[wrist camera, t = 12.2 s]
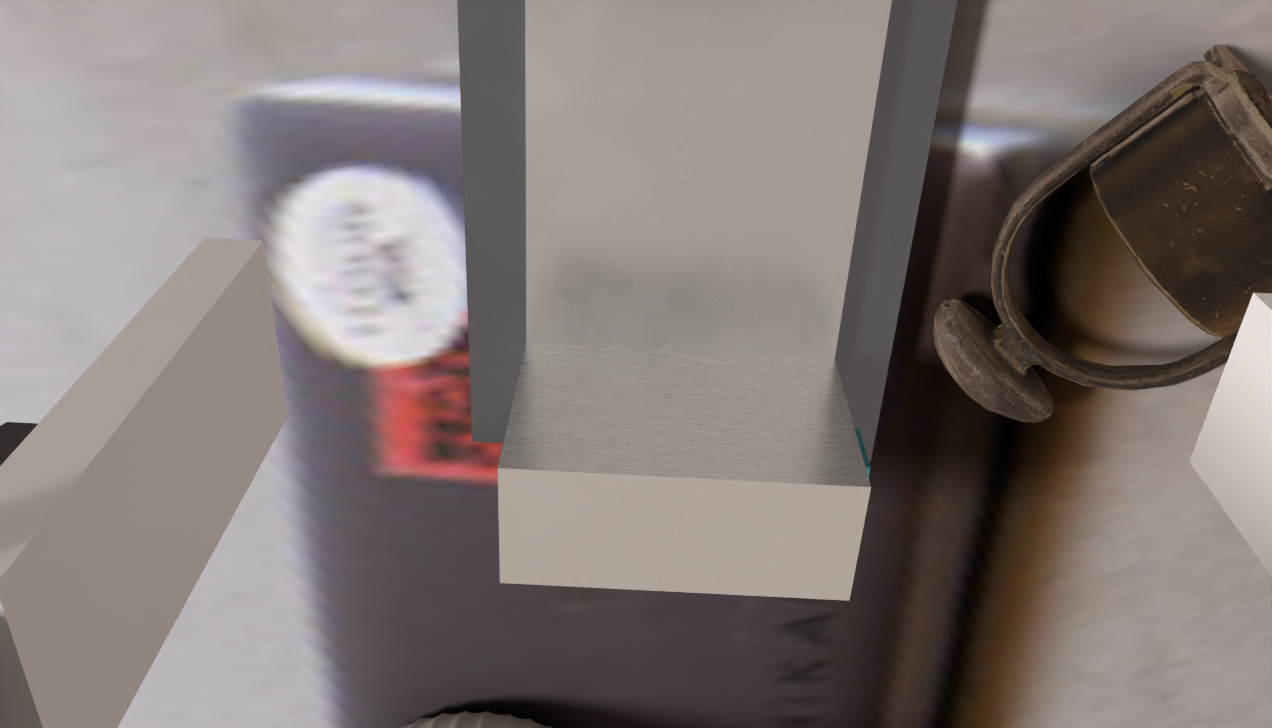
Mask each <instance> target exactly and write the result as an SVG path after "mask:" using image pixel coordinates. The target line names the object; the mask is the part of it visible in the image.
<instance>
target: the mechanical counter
mask: <svg viewBox="0 0 1272 728" xmlns="http://www.w3.org/2000/svg"><path fill="white" fill-rule="evenodd" d="M1204 57H1205V60H1206V61H1199V62H1192V63H1190V64H1189V65H1187V66H1185V67H1183V68H1181V69H1179V70H1178V71H1176V72H1175V73H1174V74H1172V75H1171V76H1170V77H1168V78H1167V79H1165V80H1164V81H1163V82H1161V83H1160V84H1159V85H1157V86H1156V87H1155V88H1153V89H1152V90H1151V91H1149V92H1148V93H1147V94H1145V95H1144V96H1143V97H1141V98H1140V99H1139V100H1137V101H1136V102H1135V103H1133V104H1132V105H1131V106H1129V107H1128V108H1127V109H1125V110H1124V111H1123V112H1121V113H1120V114H1119V115H1117V116H1116V117H1115V118H1113V119H1112V120H1111V121H1109V122H1108V123H1107V124H1105V125H1104V126H1103V127H1101V128H1100V129H1099V130H1097V131H1096V132H1095V133H1093V134H1092V135H1091V136H1089V137H1088V138H1087V139H1085V140H1084V141H1083V142H1082V143H1080V144H1079V145H1078V146H1076V147H1075V148H1074V149H1072V150H1071V151H1070V152H1068V153H1067V154H1066V155H1065V156H1063V157H1062V158H1061V159H1060V160H1058V161H1057V162H1056V163H1055V164H1053V165H1052V166H1051V167H1049V168H1048V169H1047V170H1046V171H1045V172H1043V173H1042V174H1041V175H1040V176H1039V177H1037V178H1036V179H1035V180H1034V181H1033V182H1032V183H1031V184H1030V185H1029V186H1028V188H1027V189H1026V190H1025V191H1024V192H1023V193H1022V194H1021V195H1020V196H1019V197H1018V198H1017V199H1016V200H1015V201H1014V203H1013V205H1012V206H1011V208H1010V210H1009V212H1008V214H1007V215H1006V217H1005V220H1004V222H1003V225H1002V227H1001V230H1000V233H999V235H998V238H997V241H996V243H995V246H994V249H993V254H992V277H991V287H992V294H993V302H994V305H995V308H996V310H997V312H998V314H999V317H1000V319H1001V321H1002V323H1003V324H1001V325H999V326H995V325H994V324H993V323H992V322H991V321H989V320H988V319H987V318H986V317H985V316H983V315H982V314H981V313H980V312H979V311H977V310H976V309H974V308H973V307H971V306H970V305H968V304H967V303H965V302H964V301H962V300H959V299H956V298H954V297H953V298H950V299H947V300H944V301H943V302H942V304H941V305H940V306H939V308H938V309H937V310H936V311H935V313H934V340H935V345H936V349H937V352H938V354H939V356H940V358H941V360H942V362H943V364H944V366H945V368H946V369H947V371H948V372H949V373H950V375H951V376H952V377H953V378H954V380H955V381H956V382H957V384H958V385H959V386H960V387H961V388H962V389H963V390H964V391H965V393H966V394H967V395H968V396H969V397H971V398H972V399H973V400H975V401H976V402H977V403H979V404H980V405H981V406H983V407H984V408H986V409H987V410H989V411H992V412H995V413H998V414H1000V415H1003V416H1006V417H1009V418H1012V419H1015V420H1018V421H1021V422H1036V423H1037V422H1040V421H1043V420H1045V419H1047V418H1048V417H1049V416H1051V414H1052V411H1053V403H1054V402H1053V399H1052V397H1051V395H1050V394H1049V392H1048V390H1047V388H1046V387H1045V385H1044V383H1043V382H1042V380H1041V379H1040V377H1039V376H1038V375H1037V373H1036V372H1035V370H1034V369H1033V368H1032V366H1031V365H1040V366H1041V367H1043V368H1045V369H1046V370H1048V371H1050V372H1052V373H1053V374H1056V375H1058V376H1061V377H1063V378H1066V379H1068V380H1071V381H1074V382H1076V383H1079V384H1081V385H1084V386H1091V387H1099V388H1107V389H1115V390H1139V389H1148V388H1157V387H1165V386H1173V385H1176V384H1179V383H1182V382H1185V381H1188V380H1191V379H1194V378H1197V377H1200V376H1202V375H1204V374H1206V373H1208V372H1210V371H1212V370H1214V369H1216V368H1218V367H1220V366H1222V365H1224V364H1226V363H1227V361H1228V358H1229V356H1230V353H1231V350H1232V348H1233V345H1234V342H1235V340H1236V337H1237V334H1238V332H1239V329H1240V326H1241V324H1242V321H1243V319H1244V316H1245V313H1246V311H1247V308H1248V305H1249V303H1250V300H1251V297H1252V295H1253V293H1270V294H1272V95H1271V94H1270V93H1269V92H1268V91H1267V90H1266V89H1265V88H1264V87H1263V85H1262V84H1261V83H1260V82H1259V81H1258V80H1257V79H1256V77H1255V76H1254V75H1253V74H1251V73H1250V72H1249V71H1248V70H1247V68H1246V67H1245V66H1244V65H1243V64H1242V63H1241V62H1240V61H1239V60H1238V59H1237V58H1236V56H1235V55H1234V54H1233V53H1232V52H1231V51H1230V50H1229V49H1228V48H1227V47H1226V46H1222V45H1214V46H1213V47H1211V48H1210V49H1209V50H1208V51H1207V52H1206V53H1205V54H1204ZM1088 164H1089V165H1090V175H1089V176H1090V178H1091V180H1092V182H1093V186H1094V192H1095V194H1096V197H1097V199H1098V201H1099V203H1100V205H1101V207H1102V209H1103V210H1104V212H1105V214H1106V216H1107V217H1108V219H1109V221H1110V222H1111V224H1112V225H1113V227H1114V229H1115V230H1116V232H1117V234H1118V235H1119V237H1120V238H1121V240H1122V241H1123V243H1124V244H1125V246H1126V248H1127V249H1128V251H1129V252H1130V254H1131V255H1132V257H1133V258H1134V260H1135V261H1136V263H1137V265H1138V266H1139V267H1140V268H1141V270H1142V271H1143V272H1144V273H1145V275H1146V276H1147V277H1148V278H1149V280H1150V281H1151V282H1152V283H1153V284H1154V285H1155V286H1156V287H1157V288H1158V289H1159V290H1160V291H1161V292H1162V293H1163V294H1164V295H1165V296H1166V297H1167V298H1168V299H1169V300H1170V301H1171V302H1172V304H1173V305H1174V306H1175V307H1176V308H1177V309H1178V310H1179V311H1180V312H1181V313H1182V314H1183V315H1184V316H1185V317H1186V318H1187V319H1188V320H1189V321H1190V322H1191V323H1193V324H1194V325H1196V326H1197V327H1199V328H1200V329H1202V330H1203V331H1205V332H1206V333H1208V334H1210V335H1213V336H1217V337H1224V338H1222V339H1221V340H1219V341H1217V342H1215V343H1214V344H1212V345H1210V346H1209V347H1207V348H1205V349H1203V350H1201V351H1199V352H1197V353H1195V354H1192V355H1190V356H1188V357H1186V358H1183V359H1181V360H1179V361H1176V362H1172V363H1167V364H1163V365H1133V366H1109V365H1104V364H1099V363H1094V362H1090V361H1087V360H1083V359H1080V358H1077V357H1073V356H1070V355H1068V354H1067V353H1065V352H1063V351H1062V350H1060V349H1059V348H1057V347H1055V346H1054V345H1052V344H1050V343H1049V342H1047V341H1046V340H1045V339H1044V338H1043V337H1042V336H1041V335H1040V334H1039V333H1038V332H1037V331H1036V330H1035V329H1034V328H1033V327H1032V326H1031V325H1030V323H1029V322H1028V321H1027V319H1026V318H1025V317H1024V315H1023V314H1022V312H1021V311H1020V310H1019V308H1018V306H1017V304H1016V302H1015V300H1014V297H1013V295H1012V293H1011V290H1010V284H1009V278H1008V260H1009V255H1010V251H1011V248H1012V246H1013V243H1014V241H1015V238H1016V235H1017V233H1018V230H1019V228H1020V225H1021V223H1022V222H1023V221H1024V219H1025V218H1026V217H1027V216H1028V214H1029V213H1030V212H1031V211H1032V209H1033V208H1034V207H1035V206H1036V205H1037V204H1038V203H1039V202H1041V201H1042V200H1043V199H1044V198H1045V197H1046V196H1047V195H1049V194H1050V193H1051V192H1052V191H1054V190H1055V189H1056V188H1058V187H1059V186H1060V185H1062V184H1063V183H1064V182H1066V181H1067V180H1068V179H1070V178H1071V177H1072V176H1074V175H1075V174H1076V173H1077V172H1079V171H1080V170H1081V169H1083V168H1084V167H1085V166H1087V165H1088Z"/></svg>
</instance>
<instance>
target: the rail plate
mask: <svg viewBox="0 0 1272 728" xmlns="http://www.w3.org/2000/svg"><path fill="white" fill-rule="evenodd" d="M457 1H458V31H459V61H460V90H461V120H462V150H463V180H464V210H465V240H466V270H467V300H468V330H469V360H470V389H471V419H472V441H474V442H494V443H503V448H502V452H501V456H500V461H499V465H498V504H499V555H500V583H513V584H532V585H552V586H572V587H592V588H612V589H631V590H651V591H671V592H691V593H710V594H730V595H750V596H770V597H790V598H809V599H829V600H849V599H850V594H851V589H852V584H853V579H854V573H855V568H856V563H857V558H858V553H859V547H860V542H861V537H862V532H863V527H864V521H865V516H866V511H867V506H868V501H869V495H870V490H871V485H870V482H869V473H870V464H869V462H871V457H872V452H873V446H874V441H875V436H876V431H877V425H878V420H879V415H880V409H881V404H882V399H883V394H884V388H885V383H886V378H887V372H888V367H889V362H890V356H891V351H892V346H893V341H894V335H895V330H896V325H897V319H898V314H899V309H900V304H901V298H902V293H903V288H904V282H905V277H906V272H907V267H908V261H909V256H910V251H911V245H912V240H913V235H914V230H915V224H916V219H917V214H918V208H919V203H920V198H921V192H922V187H923V182H924V177H925V171H926V166H927V161H928V155H929V150H930V145H931V140H932V134H933V129H934V124H935V118H936V113H937V108H938V103H939V97H940V92H941V87H942V81H943V76H944V71H945V65H946V60H947V55H948V50H949V44H950V39H951V34H952V28H953V23H954V18H955V13H956V7H957V2H958V0H457Z"/></svg>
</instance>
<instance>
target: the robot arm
mask: <svg viewBox="0 0 1272 728" xmlns="http://www.w3.org/2000/svg"><path fill="white" fill-rule="evenodd" d="M286 417H287V409H286V402H285V394H284V387H283V380H282V373H281V366H280V359H279V352H278V344H277V337H276V330H275V323H274V316H273V309H272V302H271V294H270V287H269V280H268V273H267V266H266V259H265V251H264V244H263V241H253V240H234V239H214V238H204V240H203V241H202V242H201V243H200V244H199V245H198V246H197V247H196V249H195V250H194V251H193V252H192V253H191V254H190V255H189V256H188V257H187V259H186V260H185V261H184V262H183V263H182V264H181V265H180V266H179V267H178V269H177V270H176V271H175V272H174V273H173V274H172V275H171V276H170V278H169V279H168V280H167V281H166V282H165V283H164V284H163V285H162V286H161V288H160V289H159V290H158V291H157V292H156V293H155V294H154V295H153V296H152V298H151V299H150V300H149V301H148V302H147V303H146V304H145V305H144V307H143V308H142V309H141V310H140V311H139V312H138V313H137V314H136V315H135V317H134V318H133V319H132V320H131V321H130V322H129V323H128V324H127V325H126V327H125V328H124V329H123V330H122V331H121V332H120V333H119V334H118V336H117V337H116V338H115V339H114V340H113V341H112V342H111V343H110V344H109V346H108V347H107V348H106V349H105V350H104V351H103V352H102V353H101V354H100V356H99V357H98V358H97V359H96V360H95V361H94V362H93V363H92V364H91V366H90V367H89V368H88V369H87V370H86V371H85V372H84V373H83V375H82V376H81V377H80V378H79V379H78V380H77V381H76V382H75V383H74V385H73V386H72V387H71V388H70V389H69V390H68V391H67V392H66V393H65V395H64V396H63V397H62V398H61V399H60V400H59V401H58V402H57V404H56V405H55V406H54V407H53V408H52V409H51V410H50V411H49V412H48V414H47V415H46V416H45V417H44V418H43V419H42V420H41V421H40V422H39V424H33V423H14V422H6V423H5V424H3V425H1V426H0V728H117V727H118V725H119V724H120V722H121V720H122V718H123V716H124V714H125V713H126V711H127V709H128V707H129V705H130V703H131V702H132V700H133V698H134V696H135V694H136V692H137V691H138V689H139V687H140V685H141V683H142V681H143V680H144V678H145V676H146V674H147V672H148V670H149V669H150V667H151V665H152V663H153V661H154V659H155V658H156V656H157V654H158V652H159V650H160V648H161V647H162V645H163V643H164V641H165V639H166V637H167V636H168V634H169V632H170V630H171V628H172V626H173V625H174V623H175V621H176V619H177V617H178V615H179V614H180V612H181V610H182V608H183V606H184V604H185V603H186V601H187V599H188V597H189V595H190V593H191V592H192V590H193V588H194V586H195V584H196V582H197V581H198V579H199V577H200V575H201V573H202V571H203V570H204V568H205V566H206V564H207V562H208V560H209V559H210V557H211V555H212V553H213V551H214V549H215V548H216V546H217V544H218V542H219V540H220V538H221V537H222V535H223V533H224V531H225V529H226V527H227V526H228V524H229V522H230V520H231V518H232V516H233V515H234V513H235V511H236V509H237V507H238V505H239V504H240V502H241V500H242V498H243V496H244V494H245V493H246V491H247V489H248V487H249V485H250V483H251V482H252V480H253V478H254V476H255V474H256V472H257V471H258V469H259V467H260V465H261V463H262V461H263V460H264V458H265V456H266V454H267V452H268V450H269V449H270V447H271V445H272V443H273V441H274V439H275V438H276V436H277V434H278V432H279V430H280V428H281V427H282V425H283V423H284V421H285V419H286ZM1189 462H1190V463H1191V465H1192V466H1193V468H1194V469H1195V470H1196V472H1197V473H1198V475H1199V476H1200V477H1201V479H1202V480H1203V482H1204V483H1205V484H1206V486H1207V487H1208V489H1209V490H1210V491H1211V493H1212V494H1213V496H1214V497H1215V498H1216V500H1217V501H1218V502H1219V504H1220V505H1221V507H1222V508H1223V509H1224V511H1225V512H1226V514H1227V515H1228V516H1229V518H1230V519H1231V521H1232V522H1233V523H1234V525H1235V526H1236V528H1237V529H1238V530H1239V532H1240V533H1241V535H1242V536H1243V537H1244V539H1245V540H1246V542H1247V543H1248V544H1249V546H1250V547H1251V549H1252V550H1253V551H1254V553H1255V554H1256V555H1257V557H1258V558H1259V560H1260V561H1261V562H1262V564H1263V565H1264V567H1265V568H1266V569H1267V571H1268V572H1269V574H1270V575H1271V576H1272V294H1270V293H1253V295H1252V297H1251V300H1250V303H1249V305H1248V308H1247V311H1246V313H1245V316H1244V319H1243V321H1242V324H1241V326H1240V329H1239V332H1238V334H1237V337H1236V340H1235V342H1234V345H1233V348H1232V350H1231V353H1230V356H1229V358H1228V361H1227V364H1226V366H1225V369H1224V371H1223V374H1222V377H1221V379H1220V382H1219V385H1218V387H1217V390H1216V393H1215V395H1214V398H1213V401H1212V403H1211V406H1210V408H1209V411H1208V414H1207V416H1206V419H1205V422H1204V424H1203V427H1202V430H1201V432H1200V435H1199V438H1198V440H1197V443H1196V446H1195V448H1194V451H1193V453H1192V456H1191V459H1190V461H1189Z"/></svg>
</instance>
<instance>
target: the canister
mask: <svg viewBox="0 0 1272 728" xmlns="http://www.w3.org/2000/svg"><path fill="white" fill-rule="evenodd" d="M398 728H553V727H551V726H544V725H541V724H538V723H536V722H534V721H533V720H532V719H520V718H516V717H514V716H512V715H510V714H506V715H499V714H493V713H490V712H488V711H486V712H483V713H470V712H468V711H464V712H461V713H458V714H447V713H443V714H440V715H438V716H437V717H434V718H421V719H419V720H417V721H416V722H414V723H413V724H407V725H402V726H400V727H398Z"/></svg>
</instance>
